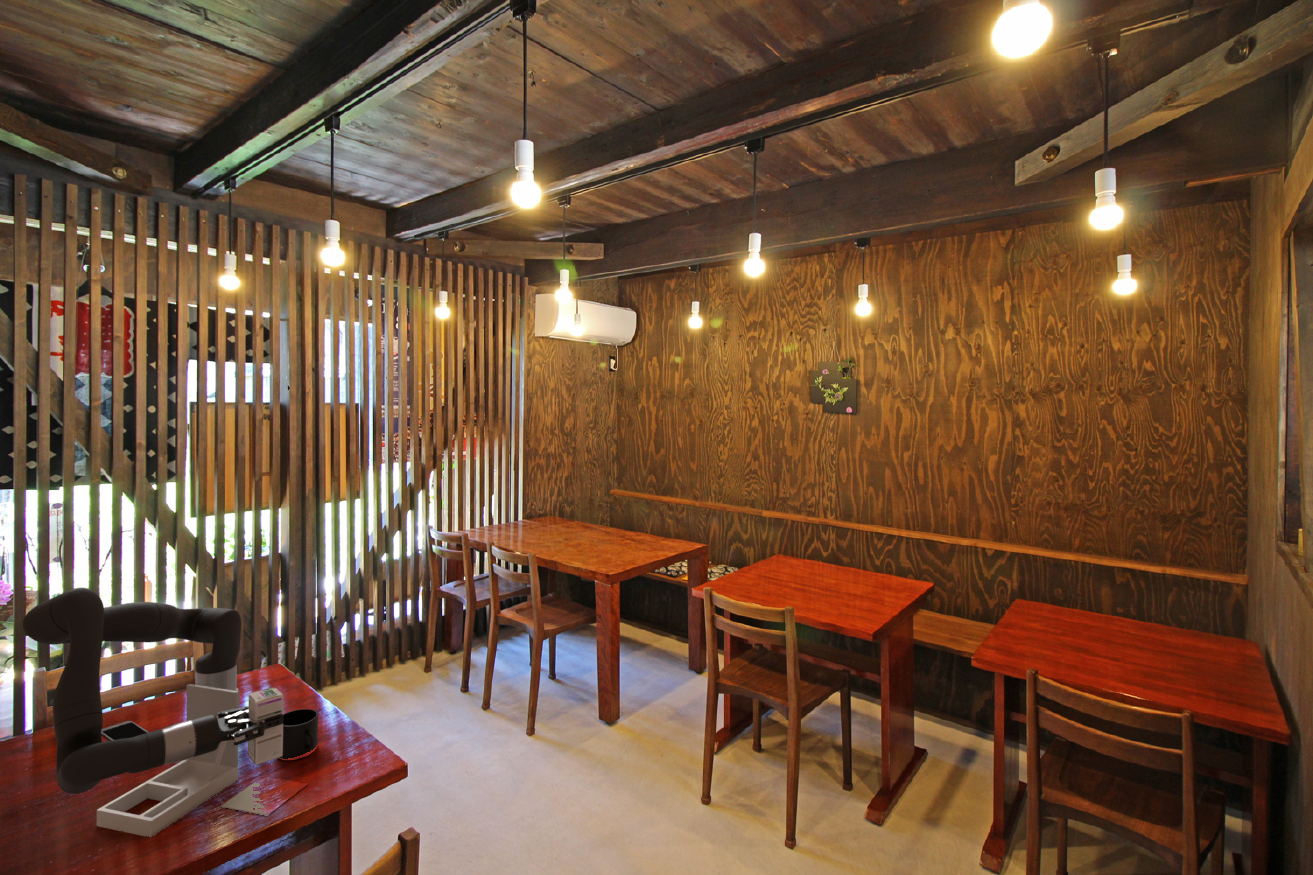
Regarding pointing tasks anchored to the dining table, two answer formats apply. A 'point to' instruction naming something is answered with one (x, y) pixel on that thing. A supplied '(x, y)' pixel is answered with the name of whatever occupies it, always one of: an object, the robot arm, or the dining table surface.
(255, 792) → the rubber mat
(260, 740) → the syrup box
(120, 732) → the smartphone
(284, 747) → the mug
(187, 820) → the dining table surface
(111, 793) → the dining table surface
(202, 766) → the white l-shaped holder
